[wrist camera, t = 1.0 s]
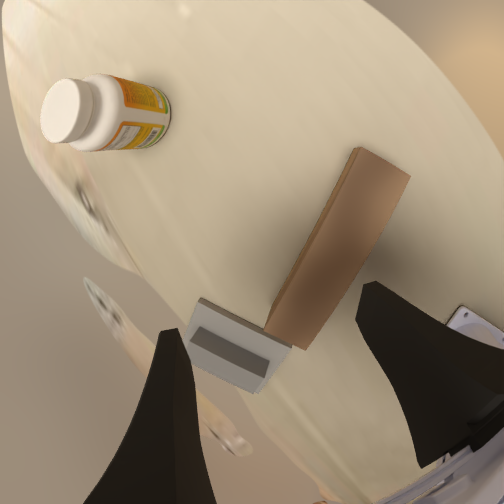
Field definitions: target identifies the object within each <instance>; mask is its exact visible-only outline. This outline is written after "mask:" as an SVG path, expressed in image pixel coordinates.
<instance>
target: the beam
mask: <svg viewBox="0 0 504 504" xmlns="http://www.w3.org/2000/svg"><path fill="white" fill-rule="evenodd" d="M410 177H411V176H410V175H408V174H407V173H405V172H404V171H402V170H401V169H399V168H397V167H396V166H394V165H392V164H391V163H389V162H387V161H386V160H384V159H382V158H380V157H379V156H377V155H375V154H373V153H372V152H370V151H368V150H366V149H364V148H363V147H358V148H354V149H353V151H352V153H351V156H350V158H349V160H348V162H347V164H346V166H345V168H344V170H343V172H342V174H341V176H340V178H339V180H338V182H337V184H336V186H335V188H334V190H333V192H332V194H331V196H330V198H329V200H328V202H327V204H326V206H325V208H324V210H323V212H322V214H321V216H320V218H319V220H318V222H317V223H316V225H315V227H314V229H313V231H312V233H311V235H310V237H309V239H308V241H307V243H306V244H305V246H304V248H303V250H302V252H301V254H300V256H299V257H298V259H297V261H296V263H295V265H294V267H293V269H292V270H291V272H290V274H289V276H288V278H287V280H286V281H285V283H284V285H283V287H282V289H281V290H280V292H279V294H278V296H277V298H276V299H275V301H274V303H273V305H272V307H271V310H270V313H269V315H268V318H267V321H266V324H265V327H264V330H263V331H265V332H267V333H269V334H271V335H273V336H275V337H278V338H280V339H282V340H284V341H286V342H288V343H290V344H292V345H295V346H297V347H299V348H301V349H303V350H306V349H307V348H308V347H309V345H310V344H311V342H312V341H313V340H314V338H315V337H316V335H317V334H318V333H319V331H320V330H321V328H322V327H323V325H324V324H325V323H326V321H327V320H328V318H329V317H330V315H331V314H332V312H333V311H334V309H335V308H336V306H337V305H338V303H339V302H340V300H341V299H342V297H343V296H344V294H345V293H346V291H347V289H348V288H349V286H350V285H351V283H352V281H353V280H354V278H355V277H356V275H357V273H358V272H359V270H360V269H361V267H362V265H363V264H364V262H365V260H366V259H367V257H368V255H369V254H370V252H371V250H372V248H373V247H374V245H375V243H376V241H377V240H378V238H379V236H380V234H381V233H382V231H383V229H384V227H385V225H386V224H387V222H388V220H389V218H390V216H391V214H392V213H393V211H394V209H395V207H396V205H397V203H398V201H399V199H400V197H401V195H402V193H403V191H404V189H405V187H406V185H407V183H408V181H409V179H410Z"/></svg>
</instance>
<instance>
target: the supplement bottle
mask: <svg viewBox="0 0 504 504" xmlns="http://www.w3.org/2000/svg"><path fill="white" fill-rule="evenodd" d="M40 121H41V129H42V132H43V135H44V136H45V138H46V139H47V140H48V141H49V142H52V143H69V144H70V145H71V146H72V147H73V148H75V149H76V150H79V151H84V152H92V151H104V150H121V149H141V148H146V147H149V146H151V145H153V144H155V143H156V142H157V141H158V140H159V139H160V138H161V137H162V136H163V135H164V133H165V132H166V130H167V127H168V125H169V121H170V106H169V103H168V100H167V98H166V97H165V95H164V94H163V93H162V92H161V91H159V90H157V89H155V88H153V87H150V86H147V85H143V84H140V83H136V82H133V81H129V80H125V79H122V78H118V77H114V76H111V75H105V74H93V75H90V76H87V77H85V78H84V79H82V80H78V79H70V78H65V79H61V80H59V81H58V82H56V83H55V84H54V85H53V86H52V87H51V88H50V90H49V91H48V93H47V95H46V97H45V99H44V102H43V105H42V109H41V117H40Z"/></svg>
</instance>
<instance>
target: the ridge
mask: <svg viewBox="0 0 504 504" xmlns="http://www.w3.org/2000/svg"><path fill="white" fill-rule="evenodd" d="M183 343H184V346H185V348H186V350H187V353H188V355H189V358H190V360H191V364H193V365H195V366H197V367H199V368H201V369H203V370H205V371H207V372H208V373H211V374H212V375H214V376H216V377H218V378H220V379H222V380H224V381H226V382H228V383H231V384H233V385H235V386H237V387H239V388H241V389H243V390H245V391H248V392H250V393H252V394H253V393H254V392H255V393H257V394H259V392H260V391H261V390H262V388H263V387H264V386H265V385H266V383H267V382H268V380H269V379H270V378H271V376H272V375H273V374H274V372H275V371H276V370H277V368H278V367H279V365H280V364H281V363H282V361H283V360H284V359H285V357H286V356H287V354H288V353H289V351H290V350H291V348H292V344H290V343H288V342H286V341H284V340H282V339H280V338H278V337H275V336H273V335H271V334H269V333H267V332H265V331H263V329H261V328H259V327H257V326H255V325H253V324H251V323H249V322H247V321H245V320H243V319H241V318H239V317H237V316H235V315H233V314H231V313H229V312H227V311H225V310H224V309H222V308H220V307H218V306H216V305H214V304H212V303H210V302H208V301H206V300H205V299H203V298H200V299H199V301H198V302H197V304H196V307H195V310H194V312H193V315H192V317H191V320H190V322H189V325H188V328H187V330H186V333H185V335H184V338H183Z"/></svg>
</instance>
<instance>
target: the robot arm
mask: <svg viewBox="0 0 504 504" xmlns="http://www.w3.org/2000/svg"><path fill="white" fill-rule="evenodd" d="M466 312H467V313H466ZM465 313H466V315H464V314H465ZM355 320H356V322H357V324H358V327H359V329H360V331H361V333H362V335H363V338H364V340H365V341H366V343H367V345H368V346H369V348H370V350H371V351H372V353H373V355H374V356H375V358H376V359H377V361H378V363H379V364H380V366H381V368H382V369H383V371H384V372H385V374H386V376H387V377H388V379H389V381H390V383H391V385H392V386H393V388H394V391H395V393H396V395H397V398H398V400H399V402H400V405H401V407H402V410H403V412H404V415H405V418H406V420H407V423H408V427H409V430H410V433H411V436H412V440H413V444H414V448H415V452H416V457H417V462H418V464H419V466H420V468H421V469H422V468H424V467H426V466H427V465H429V464H431V463H432V462H434V461H436V460H438V461H437V464H436V468H435V469H433V470H432V471H430V472H429V473H427V474H425V475H424V476H422V477H421V478H419V479H417V480H416V481H414V482H412V483H411V484H409V485H407V486H405V487H404V488H402V489H400V490H398V491H396V492H394V493H392V494H391V495H389V496H387V497H385V498H383V499H381V500H379V501H376V502H374V503H372V504H406V503H408V502H409V501H411V500H413V499H415V498H416V497H418V496H419V495H421V494H423V493H424V492H425V493H424V494H423V495H421V496H420V497H419V498H417V499H416V500H415V501H413V504H504V332H502V331H501V330H500V329H498V328H497V327H495V326H494V325H492V324H491V323H489V322H488V321H486V320H485V319H483V318H482V317H480V316H479V315H477V314H476V313H474V312H473V311H471V310H469V309H468V308H466V307H465V306H461V307H459V308H458V310H457V311H456V313H455V314H454V315H453V317H452V318H451V319H450V321H449V322H448V324H447V325H444V324H442V323H441V322H439V321H437V320H436V319H434V318H432V317H431V316H429V315H427V314H426V313H424V312H423V311H421V310H420V309H418V308H417V307H415V306H413V305H412V304H410V303H409V302H408V301H406V300H405V299H403V298H402V297H400V296H399V295H397V294H396V293H394V292H393V291H391V290H390V289H388V288H387V287H385V286H384V285H382V284H380V283H379V282H377V281H374V282H370V283H367V284H364V285H363V289H362V293H361V298H360V302H359V306H358V310H357V314H356V318H355ZM435 485H436V487H434V486H435ZM432 487H434V488H432ZM431 488H432V489H431ZM429 489H430V490H429ZM427 490H429V491H427ZM426 491H427V492H426ZM83 504H217V503H216V500H215V497H214V493H213V490H212V487H211V483H210V479H209V476H208V472H207V468H206V464H205V460H204V456H203V452H202V447H201V441H200V434H199V424H198V413H197V402H196V390H195V382H194V376H193V371H192V366H191V360H190V358H189V355H188V353H187V350H186V348H185V346H184V343H183V341H182V338H181V336H180V333H179V331H178V328H175V329H169V330H164V331H161V332H160V333H159V337H158V341H157V345H156V349H155V353H154V357H153V360H152V364H151V367H150V371H149V374H148V377H147V380H146V383H145V387H144V389H143V392H142V395H141V398H140V401H139V403H138V406H137V409H136V411H135V414H134V416H133V418H132V421H131V423H130V426H129V428H128V430H127V432H126V434H125V436H124V438H123V440H122V442H121V445H120V446H119V448H118V450H117V452H116V454H115V456H114V458H113V459H112V461H111V463H110V464H109V466H108V468H107V469H106V471H105V473H104V474H103V476H102V477H101V479H100V481H99V482H98V484H97V485H96V486H95V488H94V489H93V491H92V492H91V493H90V495H89V496H88V497H87V499H86V500H85V501H84V503H83Z"/></svg>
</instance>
